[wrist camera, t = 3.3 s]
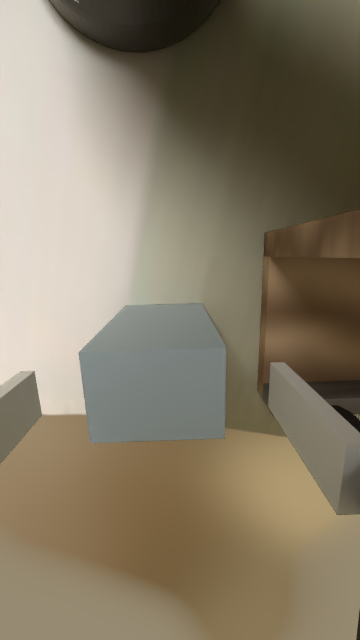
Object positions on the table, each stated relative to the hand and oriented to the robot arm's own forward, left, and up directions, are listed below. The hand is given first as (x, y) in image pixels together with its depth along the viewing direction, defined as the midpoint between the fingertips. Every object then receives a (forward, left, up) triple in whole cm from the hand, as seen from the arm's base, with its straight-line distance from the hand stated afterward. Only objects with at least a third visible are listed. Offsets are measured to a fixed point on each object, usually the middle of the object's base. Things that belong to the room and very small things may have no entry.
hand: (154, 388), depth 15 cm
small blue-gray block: (0, 0, -10) cm, 10 cm away
